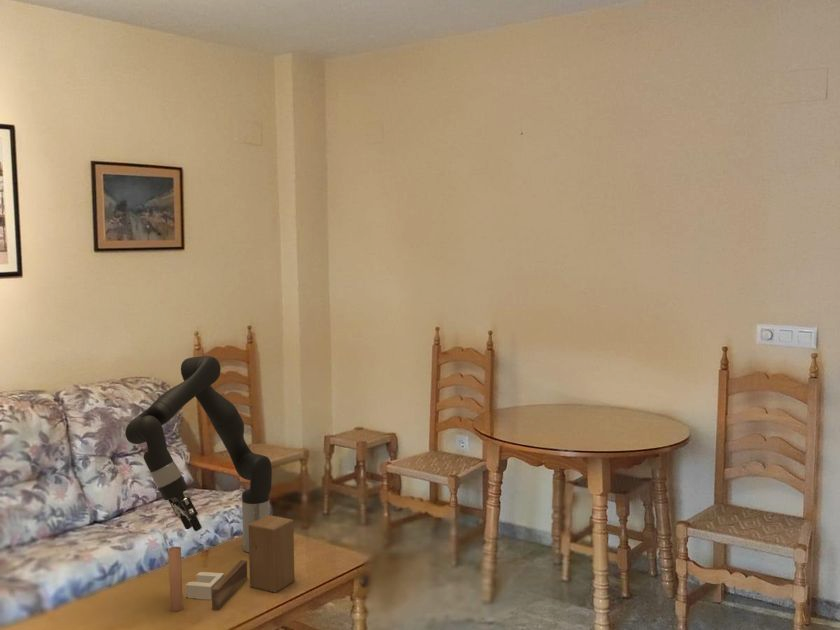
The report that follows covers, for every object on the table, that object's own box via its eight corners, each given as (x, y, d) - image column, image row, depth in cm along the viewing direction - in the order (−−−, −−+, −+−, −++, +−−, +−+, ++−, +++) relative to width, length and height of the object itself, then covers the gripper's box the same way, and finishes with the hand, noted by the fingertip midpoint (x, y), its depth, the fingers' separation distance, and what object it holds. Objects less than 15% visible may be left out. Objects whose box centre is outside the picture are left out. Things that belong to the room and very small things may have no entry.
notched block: (186, 597, 246) (185, 585, 245) (200, 584, 255) (200, 571, 255) (211, 599, 244) (210, 586, 244) (224, 585, 254) (224, 573, 254)
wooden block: (249, 587, 253) (247, 524, 251) (269, 575, 262) (268, 514, 260) (275, 593, 248) (273, 529, 247) (295, 581, 257) (293, 519, 255)
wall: (212, 609, 238) (211, 589, 237) (241, 578, 259) (240, 560, 259) (218, 609, 237) (218, 589, 237) (247, 578, 259) (246, 560, 258)
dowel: (180, 605, 241) (178, 545, 239) (184, 609, 238) (182, 549, 236) (168, 608, 238) (166, 548, 237) (173, 612, 236) (171, 552, 234)
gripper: (187, 473, 234) (213, 523, 236) (173, 473, 246) (197, 520, 248) (164, 487, 230) (190, 537, 232) (150, 486, 242) (175, 534, 244)
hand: (194, 528), depth 240 cm, fingers open, 8 cm apart
